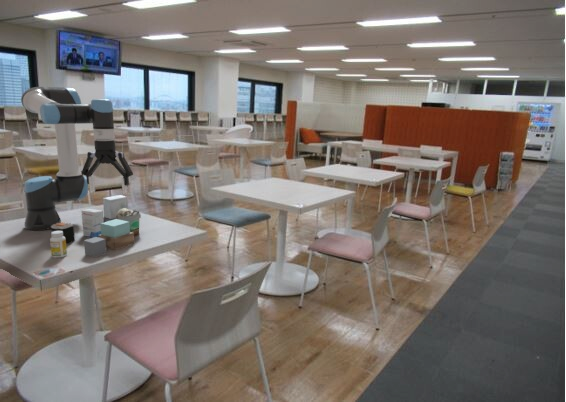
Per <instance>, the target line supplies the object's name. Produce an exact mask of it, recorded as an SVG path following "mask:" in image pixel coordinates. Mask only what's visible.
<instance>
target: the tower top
mask: <svg viewBox="0 0 566 402" xmlns="http://www.w3.org/2000/svg"><path fill="white" fill-rule="evenodd" d="M100 225H101V235H104V236H108V237H112V238H116V237H119V236H123V235H126V234H129V233H130V224H129V222H128V221H123V220H119V219H117V218H114V219H110V220H106V221H105V222H104V223H100Z"/></svg>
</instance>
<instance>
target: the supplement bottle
mask: <svg viewBox="0 0 566 402" xmlns="http://www.w3.org/2000/svg"><path fill="white" fill-rule="evenodd" d="M50 232H51V231H50ZM50 235H51V236H50V238H49V246H50V254H51V257H52V258H59V259H60V258H63V257H65V256H67V254H68V251H67V249H68V248H67V244H66V238H65V237H64V236H63V231H53V232H51V233H50Z"/></svg>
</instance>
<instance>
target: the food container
mask: <svg viewBox="0 0 566 402" xmlns="http://www.w3.org/2000/svg"><path fill="white" fill-rule="evenodd" d="M141 218H142V215H141V213H140V211H138V210H136V209H133V210H132V211H131V213H130V214H126V215H125V216H119V220H123V221H128V222H129V224H130V232H133V233H134V237H137V236H139V235H140V219H141Z"/></svg>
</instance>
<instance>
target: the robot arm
mask: <svg viewBox="0 0 566 402" xmlns="http://www.w3.org/2000/svg"><path fill="white" fill-rule="evenodd" d="M20 102H21V105H22V106H23V108H24V109H25V110H27V111H28V112H30V113H33V114H39V115H40V118H41V121H42V123H44V124H45V125H54V130H55V140H56V150H57V161H58V169H59V170H58V172H57V173H56V175H55V176H56V178H53V177H52V176H50V175H44V176H38V177H36V176H35V177H31V178H29V179H28V180H26V181H25V182H24V195H25V202H26V203H25V204H26V216H25V220H24V229H25V230H28V231H43V230H45V231H47V230H51V226H52V225H54V224H56V223H62V219H61V217H60V215H59V213H58V211H57V209H56V204H57V203H65V202H73V201H75V202H76V201H78V200H83V199H85V198H86V197H87V195H88V193H89V194H93V193H95V192H96V185H95V184H96V183H95V176H94V175H93V174H94V172H95V171H96V170H97V169H98V167H99V166H100V165H101V164H102V165H103V164H107V165H110V164H111V166H113V167H114V168H115V169H116V170H117V171H118V172H119V173H120V175H121V176H122V177H121V190H122V194H123V195H127V194H128V186H129V184H130V180H129V179H130V178H129V177H131V176H133V175H134V173H133V171H132V169H131V167H130V165H129V164H128V162H127V160H126V158H125V153H124V152H122V151H121V152H116V141H115V139H116V136H115V125H114V124H115V123H114V108H113V102H112V100H110V99H102V98H101V99H97V98H96V99H91V100H90V103H86V104H83V103H82V101H81V98H80V95H79V93H78V91H77V90H76V89H75V88H72V87H65V86H63V87H58V86H57V87H55V86H54V87H52V86H35V87H30V88H28V89H26V90H25V91H24V92H23V93H22V94H21V99H20ZM76 124H78V125H79V124H81V125H82V124H86V125H87V124H92V130H93V138H94V139H95V140H94V150H95V152H94V151H93V150H91V151H88V152H87V157H86V160H85V162H84V165H83V167H82V170H81V169H80V167H79V156H78V154H79V153H78V145H77V144H78V143H77V133H76V132H77V131H76ZM94 158H96V159H95V160H94ZM117 158H118V160H119V161H118V160H117ZM93 160H94V163H93ZM119 162H120V163H119ZM92 163H93V164H92Z"/></svg>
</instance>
